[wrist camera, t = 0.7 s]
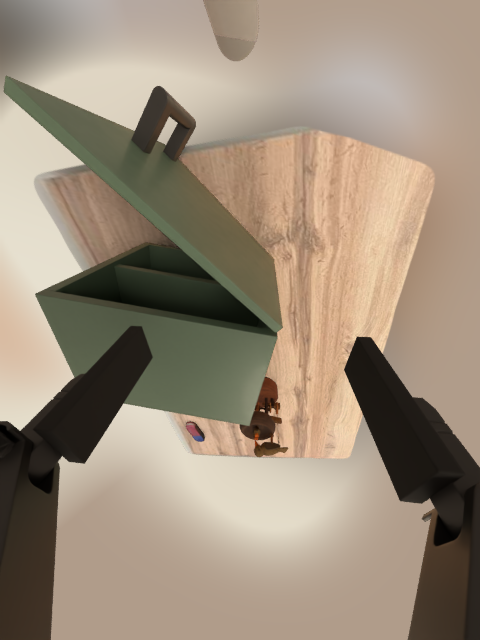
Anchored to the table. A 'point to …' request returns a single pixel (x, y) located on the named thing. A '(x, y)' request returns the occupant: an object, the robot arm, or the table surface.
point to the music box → (264, 420)
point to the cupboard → (166, 331)
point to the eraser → (195, 431)
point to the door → (163, 188)
